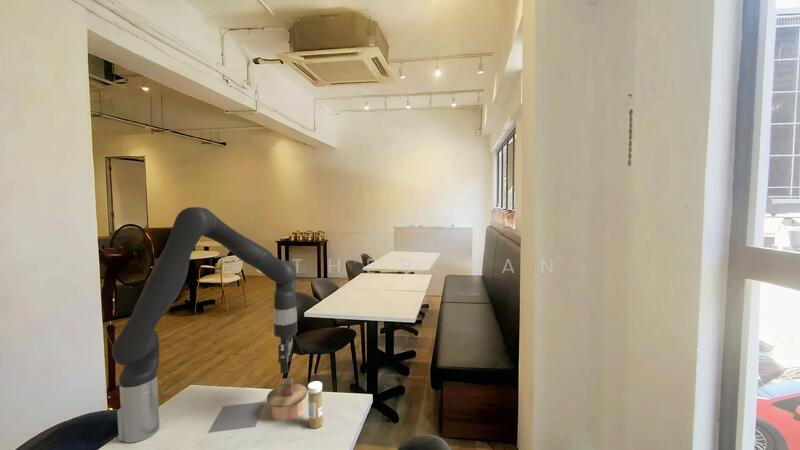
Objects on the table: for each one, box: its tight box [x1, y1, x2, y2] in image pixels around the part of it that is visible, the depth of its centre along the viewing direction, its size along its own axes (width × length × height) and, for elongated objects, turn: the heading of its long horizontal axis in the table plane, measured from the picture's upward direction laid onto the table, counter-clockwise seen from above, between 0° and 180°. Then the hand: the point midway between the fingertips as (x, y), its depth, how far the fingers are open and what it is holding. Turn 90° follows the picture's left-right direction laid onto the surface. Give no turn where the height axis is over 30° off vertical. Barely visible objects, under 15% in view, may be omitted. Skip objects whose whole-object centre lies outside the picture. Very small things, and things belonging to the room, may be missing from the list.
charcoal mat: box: [207, 401, 266, 434], centre depth 110 cm, size 14×14×1 cm
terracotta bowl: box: [270, 399, 304, 421], centre depth 113 cm, size 10×10×6 cm
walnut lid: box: [266, 377, 308, 407], centre depth 113 cm, size 13×13×5 cm
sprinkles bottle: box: [307, 380, 324, 429], centre depth 106 cm, size 5×5×13 cm
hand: (286, 366), depth 112 cm, fingers open, 8 cm apart
